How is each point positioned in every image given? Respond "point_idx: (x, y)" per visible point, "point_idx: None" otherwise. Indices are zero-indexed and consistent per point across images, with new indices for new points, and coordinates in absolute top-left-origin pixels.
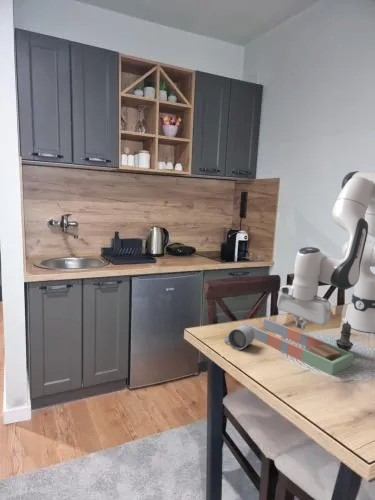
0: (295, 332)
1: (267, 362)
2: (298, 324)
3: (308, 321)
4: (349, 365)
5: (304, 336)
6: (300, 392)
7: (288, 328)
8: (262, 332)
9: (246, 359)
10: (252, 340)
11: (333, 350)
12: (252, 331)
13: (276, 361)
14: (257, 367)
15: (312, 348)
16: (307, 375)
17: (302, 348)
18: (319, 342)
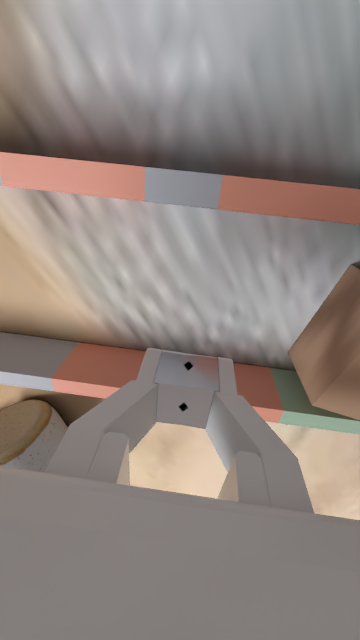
0: (91, 194)
1: (183, 451)
2: (169, 416)
3: (287, 455)
4: None
5: (186, 204)
6: (326, 504)
7: (6, 181)
8: (17, 383)
9: (134, 468)
10: (60, 431)
11: None
12: (27, 463)
13: (198, 432)
14: (183, 480)
15: (331, 411)
16: (321, 443)
17: (270, 410)
18: (338, 221)
